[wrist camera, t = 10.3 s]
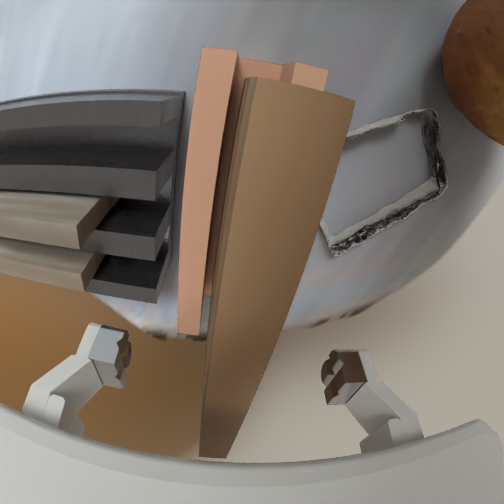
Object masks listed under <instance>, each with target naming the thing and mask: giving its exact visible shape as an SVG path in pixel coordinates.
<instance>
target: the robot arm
mask: <svg viewBox="0 0 504 504" xmlns="http://www.w3.org/2000/svg"><path fill="white" fill-rule="evenodd" d="M128 337H129V334H128V331H127V330H124V329H119V328H114V327H110V326H106V325H102V324H97V323H93V322H91V323H90V324H89V325H88V327H87V329H86V331H85V333H84V336H83V338H82V341H81V343H80V345H79V348H78V350H77V353H76V355H71V356H70V357H68V358H67V359H66V360H64V361H63V362H62V363H60V364H59V365H57V366H56V367H55V368H53V369H52V370H51V371H49V372H48V373H47V374H45V375H44V376H42V377H41V378H40V379H38V380H37V381H36V382H34V383H33V384H32V385H31V387H30V390H29V393H28V395H27V398H26V401H25V403H24V406H23V409H22V412H21V413H20V412H18V411H16V410H14V409H12V408H10V407H8V406H6V405H4V404H2V403H0V504H504V450H503V447H502V443H501V441H500V438H499V436H498V434H497V433H496V432H495V431H494V430H493V429H492V428H491V427H490V426H489V425H488V424H487V423H485V422H484V421H482V420H480V419H476V420H473V421H471V422H468V423H465V424H463V425H460V426H458V427H455V428H452V429H450V430H447V431H444V432H441V433H438V434H436V435H432V436H429V437H426V438H424V436H423V433H422V430H421V427H420V424H419V420H418V417H417V414H416V413H415V412H414V411H413V410H412V409H411V408H410V407H409V406H408V405H406V403H404V402H403V401H402V400H401V399H400V398H399V397H398V396H397V395H396V394H395V393H394V392H393V391H391V390H390V389H389V388H388V387H387V386H386V385H385V384H384V383H383V382H382V381H379V380H378V377H377V374H376V371H375V369H374V366H373V363H372V360H371V357H370V354H369V352H368V351H367V350H333V351H332V352H331V353H330V354H329V357H330V359H328V360H326V361H325V363H324V364H323V366H322V370H321V378H322V382H323V383H324V384H325V386H326V389H325V391H324V393H325V398H326V402H327V405H338V404H345V406H346V407H347V408H348V410H349V411H350V412H351V413H352V415H353V416H354V417H355V418H356V420H357V421H358V422H359V423H360V425H361V426H362V427H363V428H364V429H365V430H366V432H367V433H368V434H369V436H368V437H366V438H365V439H363V440H362V441H361V442H360V447H361V454H356V455H349V456H344V457H336V458H329V459H320V460H310V461H299V462H281V463H232V462H231V463H230V462H214V461H213V462H212V461H201V460H192V459H183V458H175V457H168V456H162V455H156V454H150V453H145V452H140V451H135V450H130V449H125V448H122V447H118V446H114V445H110V444H106V443H102V442H99V441H95V440H92V439H88V438H85V437H82V434H83V430H84V424H83V422H82V421H81V420H80V419H79V418H78V416H77V415H76V413H77V412H78V410H80V409H81V407H83V406H84V405H85V404H86V403H87V402H88V401H89V400H90V399H91V398H92V397H93V396H94V395H95V394H96V393H97V392H98V391H99V390H100V389H101V388H102V387H103V385H106V386H111V387H116V388H121V389H123V387H124V383H125V379H126V371H125V368H126V367H128V366H129V363H130V360H131V343H130V342H129V341H128Z"/></svg>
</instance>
